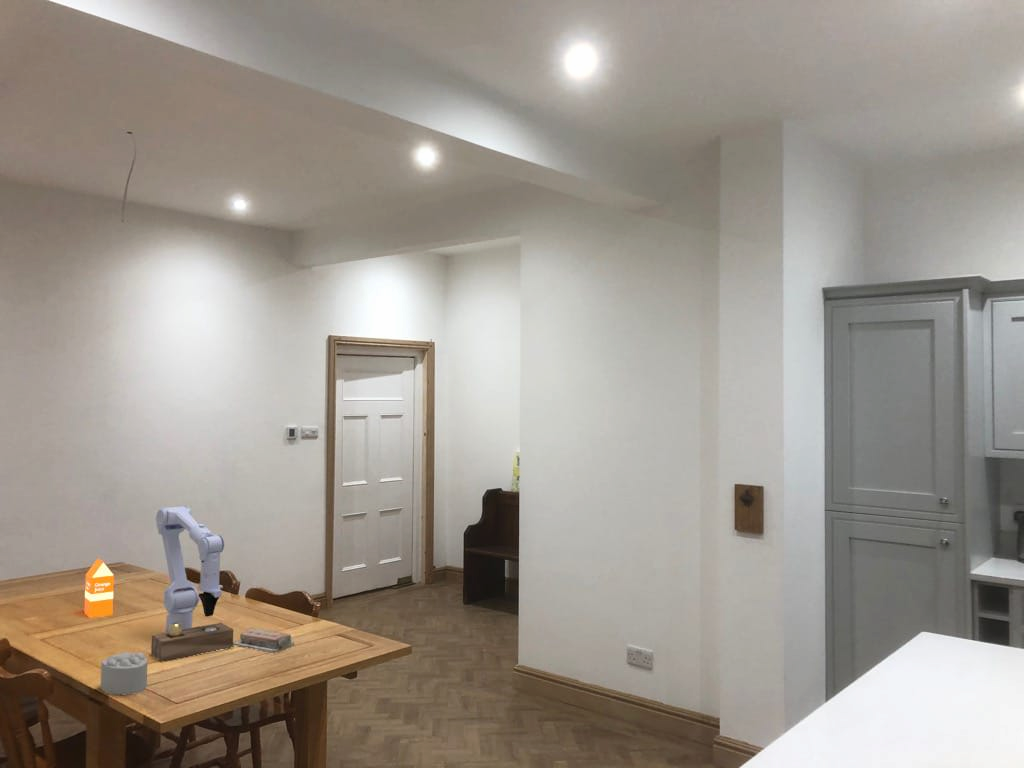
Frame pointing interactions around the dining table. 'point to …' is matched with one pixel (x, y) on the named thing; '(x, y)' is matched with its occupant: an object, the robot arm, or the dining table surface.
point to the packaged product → (265, 640)
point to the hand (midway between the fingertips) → (208, 615)
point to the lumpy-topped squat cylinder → (124, 673)
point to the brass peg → (175, 630)
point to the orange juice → (99, 590)
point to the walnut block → (191, 642)
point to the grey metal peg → (210, 629)
